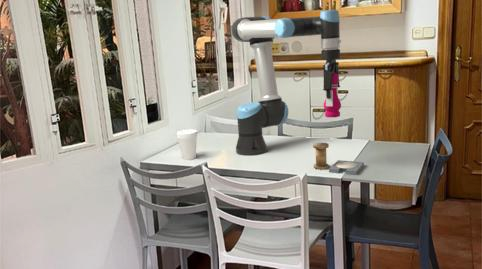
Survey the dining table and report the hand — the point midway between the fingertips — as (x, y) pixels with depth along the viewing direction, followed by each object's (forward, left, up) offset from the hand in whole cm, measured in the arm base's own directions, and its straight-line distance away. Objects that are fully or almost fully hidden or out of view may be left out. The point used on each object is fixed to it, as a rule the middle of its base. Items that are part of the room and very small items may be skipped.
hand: (332, 104), depth 194 cm
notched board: (+8, -7, -26) cm, 27 cm away
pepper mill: (0, 0, -5) cm, 5 cm away
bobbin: (-3, -8, -26) cm, 27 cm away
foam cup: (-68, -11, -26) cm, 73 cm away
